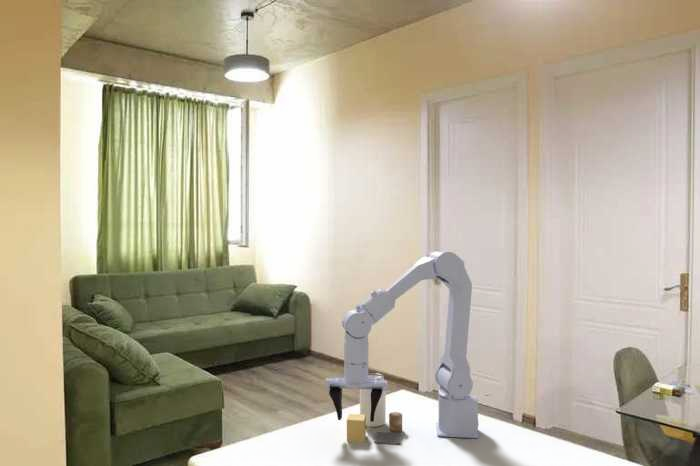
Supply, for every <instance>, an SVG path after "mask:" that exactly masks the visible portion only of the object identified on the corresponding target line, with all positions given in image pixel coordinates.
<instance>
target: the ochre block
mask: <svg viewBox="0 0 700 466" xmlns="http://www.w3.org/2000/svg"><path fill="white" fill-rule="evenodd" d="M366 429H367V427H366V415H362V414H360V413H359V414H358V413H348V415H347V419H346V441H347V442H358V443H359V442H360V443H365V438H366V435H367V434H366V433H367V431H366Z"/></svg>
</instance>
